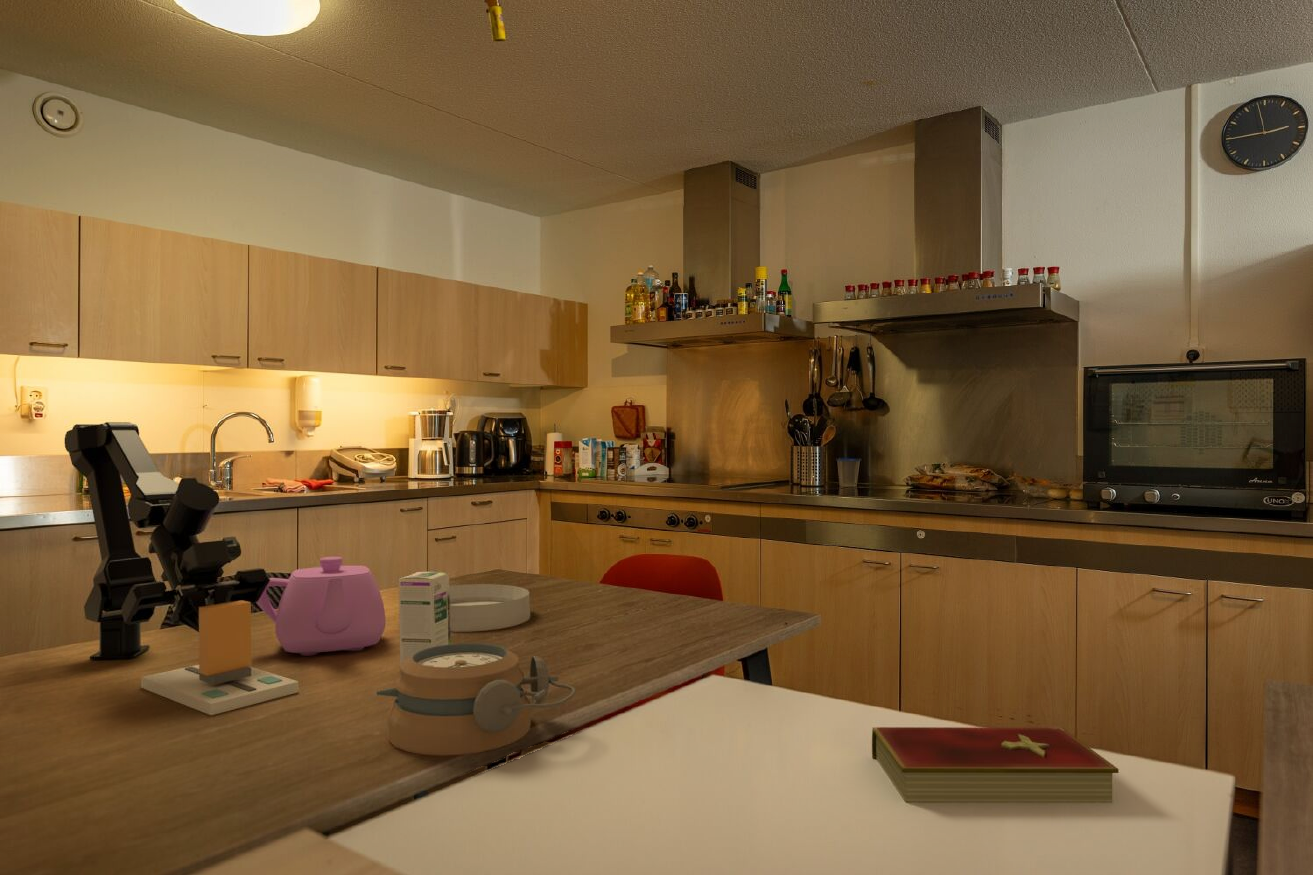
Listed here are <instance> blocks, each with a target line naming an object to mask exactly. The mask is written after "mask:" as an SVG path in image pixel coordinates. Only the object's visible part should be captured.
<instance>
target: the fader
mask: <svg viewBox="0 0 1313 875" xmlns="http://www.w3.org/2000/svg"><path fill="white" fill-rule="evenodd" d="M251 622H252V604H251V602H247V601H243V600H241V601H234V602H228V603H222V604H216V605H210V606H204V607H199V632H198V665H199V680H201V681H204V682H207V683H210V684H213V685H216V684H220V683H224V682H228V681H232V680H237V679H241V678H245V677H249V676H251V667H252V623H251ZM249 666H250V667H249Z"/></svg>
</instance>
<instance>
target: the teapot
mask: <svg viewBox="0 0 1313 875" xmlns="http://www.w3.org/2000/svg"><path fill="white" fill-rule="evenodd" d="M343 560H344V558H343V557H341V556H325V557H321V558H320V559H319V563H320V566H315V567H307V568H306V567H305V568H298V569H295V570H294V571H293V572H291V574H290V576H289V578H278V577H269V578H270V581H269V583H268V585H267V587H266V588H265V590H264V592H263V593H262V595H261V597H260V599H259V600H258V601H257V602H255V603H256V605H257V606H258V607H259V608H260V609H261V610H262V611H263V613H265V615H266V616H268V617H269V619H270V620H272V621H273V623H275V629H274V630H275V635H276V638H277V640H278V642H279V645H280V646H281V647H282V649H283V650H284V652H287V653H291V654H293V653H294V654H295V653H296V654H300V656H314V655H318V654H320V653H325V652H327V653H328V652H337V651H347V652H357V651H362V650H364V648H365V647H366V648H367V647H371V646H374V645H376V644H378V643H379V641H380V639H381V638H382V636H383V634H384V631H385V629H386V626H387V625H386V621H387V620H386V613H385V612H386V611H385V605H384V601H383V598H382V594H381V591H380V589H379V586H378V584H377V581H376V579H375V577H374V575H373V573H372V571H371V570H370V568H368V567H367V566H366V565H342V564H343ZM270 587H284V590H283V592H282V595H281V598H280V600H279V604H278V607H277V611H276V609H275V608H274V606H273V605H272V603H271V601H270V599H269V597H268V595H267V594H268V593H267V589H268V588H270Z"/></svg>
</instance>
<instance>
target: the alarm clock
mask: <svg viewBox="0 0 1313 875" xmlns="http://www.w3.org/2000/svg"><path fill="white" fill-rule="evenodd" d="M529 666H530V667H529V677H525V675H524V672H523V671H522V669H521V667H520V657H518V656H517V654H515V653H514V652H511V651H510V650H508V649H507V648H504V647H502V646H500V645H497V644H496V645H495V644H489V643H478V642H475V643H474V642H467V643H466V642H462V643H450V644H448V645H441V646H436V647H431V648H427V649H424V650H422V651H419V652H417V653H416V654H414V655H412V656H411V657H409V658H408V659H406V660H405V661H403V662H402V664H401V665H400V664H399V675H398V677H397V678H396V680H395V682H394V687H391V688H386V689H382V690H378V691H376V695H377V696H384V697H395V699H394V702H393V704H392V706H391V708H390V709H389V710H388V713H387V716H386V718H387V721H386V722H387V723H386V724H387V726H386V727H387V738H388V742H389V743H390V744H392V745H393V747H394V748H397V749H399V750H402V751H405V752H408V753H413V754H418V755H419V754H420V755H424V756H425V755H427V756H441V757H442V756H461V755H462V756H463V755H468V754H476V753H477V754H478V753H483V752H487V751H492V750H495V749H500V748H502V747H505V746H508V745H510V744H513V743H515V742H517V741H519V740H520V739H522V738H523V737H525V736H526V735H527V734H528V732H529V731H530V729H531V723H532V722H531V720H532V718H531V717H532V716H531V715H532V710H531V709H532V708H534V709H535V708H537V709H539V708H541V709H544V708H553V707H557V706H561V705H562V704H565V703H567V702H568V701H569V700H571V699H572V698H573V697H574V696H575V694H576V692H577V691H576V688H575V687H574V686H571V685H569V684H563V683H558V681H559V680H560V677H559V675H549V671H548V667H547V665H546V663H545V661H544V659H543V658H542V657H540V656H537V655H535V656H531V658H530V665H529ZM522 685H529V686H530V691H527V690H526V691H525V690H524V689H523V688H522ZM550 685H552V686H554V687H557V688H562V689H567V690H569V691H571V693H570V694H568V695H567V696H566V697H565V698H562V699H560V700H557V701H555V702H551V703H549V702H548V703H544V701H545V700H546V699H547V696H548V692H549V686H550ZM527 696H528V697H530V696H531V698H532V702H533V703H531V701H530V699H529V698H528V697H527Z"/></svg>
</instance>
